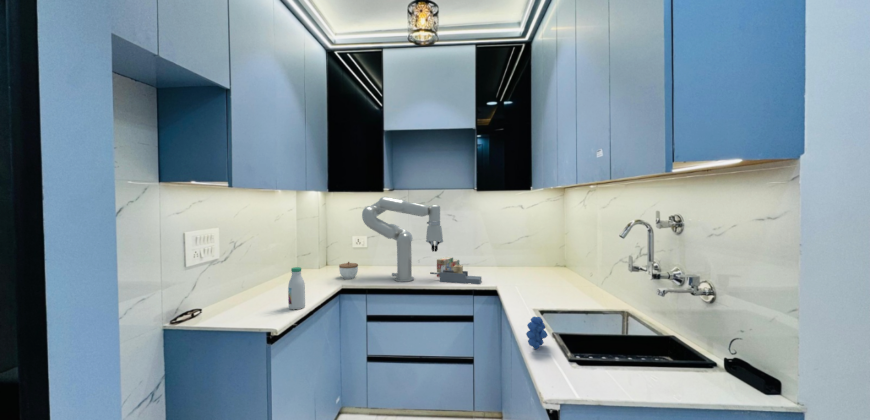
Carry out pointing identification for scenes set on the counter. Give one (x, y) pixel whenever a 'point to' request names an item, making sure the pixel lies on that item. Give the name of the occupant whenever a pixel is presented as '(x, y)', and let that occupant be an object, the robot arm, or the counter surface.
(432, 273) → the plunger
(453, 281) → the tube
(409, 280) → the robot arm
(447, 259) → the printed cardboard box
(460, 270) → the pine block
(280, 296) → the counter surface
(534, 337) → the grapes
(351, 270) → the lidded bowl
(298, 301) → the milk bottle
